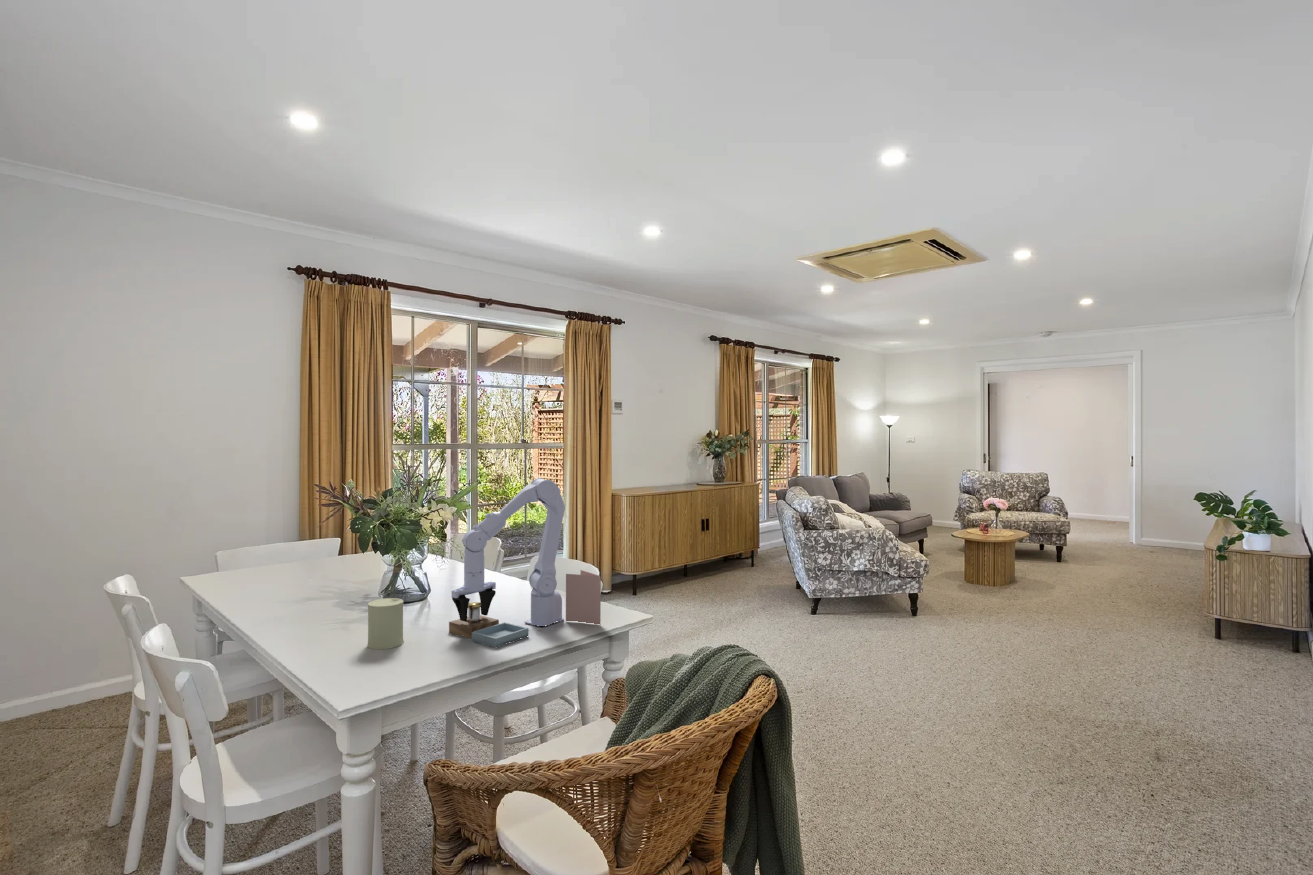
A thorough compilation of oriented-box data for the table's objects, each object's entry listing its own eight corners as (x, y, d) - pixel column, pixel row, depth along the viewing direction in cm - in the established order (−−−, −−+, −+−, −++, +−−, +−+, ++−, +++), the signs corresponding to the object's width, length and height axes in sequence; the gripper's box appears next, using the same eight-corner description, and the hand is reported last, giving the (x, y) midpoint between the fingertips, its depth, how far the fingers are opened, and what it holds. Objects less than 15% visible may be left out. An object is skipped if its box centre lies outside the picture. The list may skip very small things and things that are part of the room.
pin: (475, 628, 194) (475, 601, 194) (484, 630, 191) (484, 603, 191) (464, 631, 190) (464, 604, 190) (473, 633, 188) (473, 606, 188)
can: (410, 642, 180) (411, 598, 180) (381, 651, 172) (382, 606, 172) (389, 636, 185) (389, 594, 185) (359, 645, 177) (360, 601, 177)
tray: (504, 630, 191) (504, 622, 191) (528, 636, 186) (528, 628, 186) (471, 640, 182) (471, 632, 182) (495, 647, 176) (495, 638, 176)
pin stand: (476, 624, 198) (476, 614, 198) (498, 629, 192) (498, 619, 192) (449, 632, 190) (449, 621, 190) (471, 638, 184) (471, 627, 184)
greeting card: (602, 625, 198) (603, 575, 198) (581, 629, 193) (582, 578, 193) (582, 616, 206) (582, 569, 206) (562, 620, 202) (562, 572, 202)
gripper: (484, 565, 199) (484, 610, 199) (444, 573, 187) (444, 620, 187) (500, 568, 195) (500, 613, 195) (460, 576, 183) (460, 625, 183)
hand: (474, 617), depth 191 cm, fingers open, 7 cm apart
